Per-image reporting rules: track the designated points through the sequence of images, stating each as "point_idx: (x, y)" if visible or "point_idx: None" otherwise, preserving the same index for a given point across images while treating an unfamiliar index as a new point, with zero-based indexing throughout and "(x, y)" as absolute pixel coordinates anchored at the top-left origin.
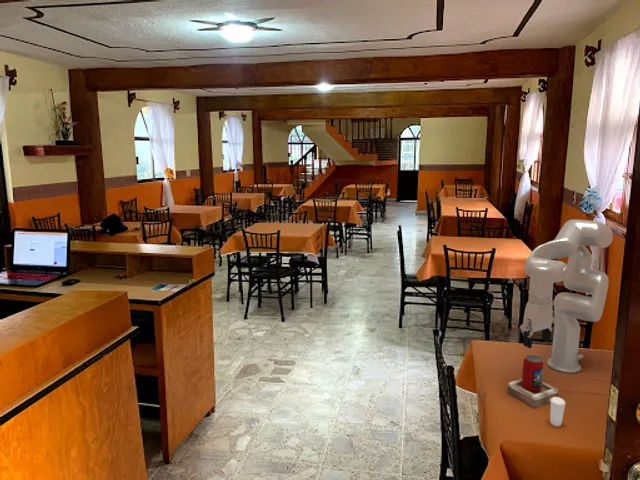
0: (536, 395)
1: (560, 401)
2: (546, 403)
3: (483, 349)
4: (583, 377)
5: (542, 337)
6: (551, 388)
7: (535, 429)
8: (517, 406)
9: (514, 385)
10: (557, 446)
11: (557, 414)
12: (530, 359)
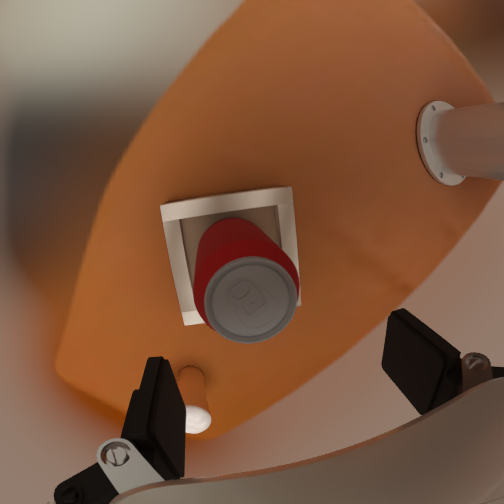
0: (198, 316)
1: (189, 432)
2: None
3: None
4: (441, 211)
5: (399, 326)
6: None
7: (129, 375)
8: (145, 282)
9: (170, 231)
10: None
11: None
12: (222, 306)
